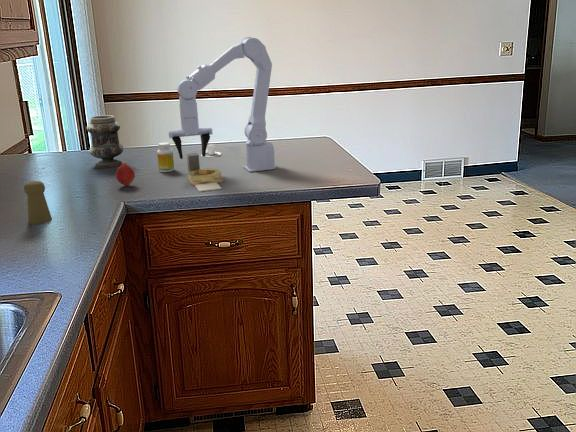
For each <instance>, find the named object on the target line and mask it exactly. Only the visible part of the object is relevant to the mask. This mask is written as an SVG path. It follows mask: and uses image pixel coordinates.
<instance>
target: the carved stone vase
mask: <svg viewBox="0 0 576 432" xmlns="http://www.w3.org/2000/svg"><path fill="white" fill-rule="evenodd" d="M89 119H90V121H89V123H88V124H87V126H86V130H87V132H88V133H89V134H90V138H91V146H90V147H89V150H88V151H89V154H90V155H91V156H92V157H94V158H96V159H101V160H99V161H98V162H96V163H95V164H94V167H96V168H99V169H102V168H103V169H104V168H107V169H109V168H114V167H118V166H121V165H122V164H123V162H122V161H121V160H119V159H116V157H118V156H120V155H121V154H123V152H124V146H123V145H122V143H120V141H119V134H118V131H120V129H121V125H120V123H119V122H118V121H117V120H116V119H115V116H114V115H112V114H111V115H109V114H107V115H105V114H102V115H94V116H91V117H90V118H89ZM114 158H115V159H114Z"/></svg>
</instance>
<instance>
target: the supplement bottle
mask: <svg viewBox="0 0 576 432" xmlns="http://www.w3.org/2000/svg"><path fill="white" fill-rule="evenodd" d="M157 144H158V145H157V147H158V150H157V151H156V154H157V156H156V157H157V164H158V171H159V172H161V173H168V172H173V171H175V162H174V151H173V149H172V148H170V147H171V143H170V142H167V141H166V142H159V143H157Z"/></svg>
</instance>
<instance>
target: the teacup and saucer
mask: <svg viewBox="0 0 576 432" xmlns="http://www.w3.org/2000/svg"><path fill="white" fill-rule="evenodd" d="M221 155H222V152H220V151H216V145H215V144H212V143H211V144H207V148H206V153H205V156H204V157H206V158H208V157H211V158H212V157H214V156H215V157H219V156H221ZM200 156H201V157H203V156H202V153H201V155H200Z"/></svg>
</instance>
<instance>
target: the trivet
mask: <svg viewBox="0 0 576 432" xmlns="http://www.w3.org/2000/svg"><path fill="white" fill-rule="evenodd" d="M194 186H195V188H196V190H197V191H198V192H199V193H200V192H202V193H203V192H209V191H216V190H217V191H218V190H222V187H221V186H220V185H219V183H217V182H216V183H207V184H199V185H194Z"/></svg>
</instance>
